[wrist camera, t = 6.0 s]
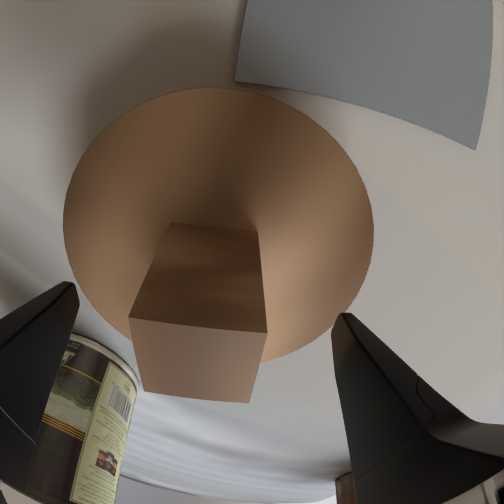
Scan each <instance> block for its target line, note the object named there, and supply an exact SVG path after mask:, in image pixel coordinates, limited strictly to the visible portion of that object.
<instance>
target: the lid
mask: <svg viewBox="0 0 504 504" xmlns="http://www.w3.org/2000/svg"><path fill="white" fill-rule="evenodd" d="M63 233H64V242H65V248H66V252H67V256H68V260H69V263H70V266H71V269H72V271H73V274H74V276H75V278H76V280H77V282H78V284H79V286H80V288H81V290H82V291H83V293H84V295H85V296H86V297H87V299H88V300H89V302H90V303H91V304H92V306H93V307H94V308H95V309H96V310H97V312H98V313H99V314H100V315H101V316H102V317H103V318H104V319H105V320H106V321H107V322H108V323H109V324H110V325H111V326H113V327H114V328H115V329H116V330H117V331H119V332H120V333H121V334H123V335H124V336H126V337H127V338H128V339H130V340H131V341H132V342H133V346H134V351H135V356H136V360H137V365H138V369H139V373H140V377H141V381H142V385H143V389H144V391H147V392H152V393H158V394H165V395H171V396H178V397H186V398H194V399H203V400H213V401H225V402H240V403H249V400H250V397H251V393H252V390H253V386H254V383H255V379H256V375H257V372H258V368H259V364H260V363H261V362H265V361H269V360H272V359H275V358H278V357H281V356H284V355H287V354H289V353H291V352H293V351H296V350H298V349H300V348H301V347H303V346H305V345H307V344H308V343H310V342H312V341H313V340H315V339H316V338H318V337H319V336H320V335H322V334H323V333H324V332H326V331H327V330H328V329H329V328H330V327H331V326H332V325H333V324H334V323H335V321H336V319H337V317H338V315H339V313H342V312H343V313H345V311H346V310H347V309H348V308H349V306H350V305H351V303H352V302H353V300H354V299H355V297H356V296H357V294H358V292H359V290H360V288H361V286H362V284H363V282H364V280H365V277H366V274H367V271H368V268H369V265H370V261H371V255H372V249H373V236H374V224H373V217H372V209H371V204H370V201H369V198H368V194H367V191H366V188H365V185H364V183H363V181H362V179H361V177H360V175H359V173H358V170H357V168H356V166H355V165H354V164H353V162H352V161H351V159H350V158H349V156H348V155H347V153H346V152H345V151H344V149H343V148H342V147H341V146H340V145H339V143H338V142H337V141H336V140H335V139H334V138H333V137H332V136H331V135H330V134H329V133H328V132H327V131H326V130H325V129H324V128H322V127H321V126H320V125H318V124H317V123H316V122H314V121H313V120H312V119H310V118H309V117H308V116H306V115H305V114H303V113H301V112H300V111H298V110H296V109H294V108H292V107H290V106H288V105H286V104H285V103H283V102H280V101H277V100H275V99H272V98H269V97H266V96H263V95H260V94H257V93H252V92H247V91H242V90H236V89H229V88H198V89H190V90H183V91H177V92H173V93H170V94H166V95H163V96H160V97H157V98H153V99H151V100H149V101H147V102H145V103H143V104H140V105H138V106H136V107H134V108H132V109H130V110H129V111H127V112H126V113H125V114H123V115H122V116H120V117H119V118H117V119H116V120H115V121H113V122H112V123H111V124H110V125H109V126H107V127H106V128H105V129H104V130H103V131H102V132H101V133H100V134H99V135H98V136H97V137H96V138H95V139H94V141H93V142H92V143H91V145H90V146H89V147H88V149H87V150H86V151H85V153H84V154H83V156H82V157H81V159H80V161H79V163H78V165H77V167H76V169H75V171H74V173H73V175H72V178H71V181H70V184H69V187H68V190H67V194H66V199H65V205H64V212H63Z"/></svg>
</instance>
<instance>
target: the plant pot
mask: <svg viewBox="0 0 504 504" xmlns="http://www.w3.org/2000/svg"><path fill="white" fill-rule="evenodd" d="M354 481H355V480H354V479H353V473H352V472H351V473H349V474H347V475H345V476H342V477H340V479H339V480H336V482H335V486H336V498H337V504H357V502H356V495H355V487H354Z"/></svg>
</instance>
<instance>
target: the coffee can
mask: <svg viewBox="0 0 504 504" xmlns="http://www.w3.org/2000/svg"><path fill="white" fill-rule="evenodd" d="M138 391H139V382H138V380H137V378H136V376H135V374H134V372H133V371H132V370H131V368H130V367H129V366H128V365H127V364H126V363H125V362H124V361H123V360H122V359H120V358H119V357H118V356H117V355H116V354H114V353H113V352H111V351H109V350H108V349H107V348H105V347H104V346H102V345H100V344H98V343H96V342H94V341H92V340H90V339H88V338H85V337H83V336H80V335H76V334H73V333H71V336H70V339H69V343H68V345H67V348H66V351H65V353H64V356H63V359H62V361H61V364H60V367H59V369H58V372H57V375H56V378H55V381H54V384H53V386H52V389H51V393H50V396H49V399H48V402H47V405H46V408H45V412H44V415H43V419H42V422H41V426H40V430H39V433H38V437H37V441H36V443H35V444H36V446H35V450H34V455H33V459H32V464H31V469H30V474H29V480H28V486H27V491H26V494H24V493H23V492H21V491H19V490H17V489H15V488H14V487H12V486H10V485H8V484H7V483H5V482H3V481H2V482H3V483H4V484H6V485H8V486H9V487H11V488H13V489H15V490H16V491H18V492H20V493H22V494H24V495H26V496H28V497H30V498H31V499H33V500H35V501H37V502H40V503H41V504H114V503H115V497H116V492H117V486H118V480H119V474H120V469H121V463H122V457H123V452H124V448H125V443H126V439H127V434H128V429H129V425H130V421H131V416H132V412H133V407H134V403H135V399H136V395H137V393H138Z"/></svg>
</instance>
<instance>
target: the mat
mask: <svg viewBox="0 0 504 504" xmlns="http://www.w3.org/2000/svg"><path fill="white" fill-rule="evenodd" d="M492 36H493V6H492V0H247V5H246V11H245V16H244V22H243V28H242V33H241V39H240V45H239V52H238V58H237V64H236V71H235V77H234V81H237V82H245V83H253V84H260V85H267V86H273V87H279V88H285V89H291V90H296V91H301V92H306V93H311V94H315V95H320V96H324V97H328V98H332V99H336V100H340V101H344V102H348V103H352V104H355V105H359V106H362V107H366V108H369V109H372V110H375V111H379V112H382V113H385V114H388V115H391V116H394V117H397V118H400V119H402V120H405V121H408V122H411V123H413V124H416V125H419V126H421V127H424V128H426V129H429V130H431V131H434V132H436V133H438V134H441V135H443V136H445V137H448V138H450V139H452V140H454V141H457V142H459V143H461V144H463V145H465V146H467V147H469V148H471V149H474V150H476V147H477V143H478V138H479V134H480V130H481V125H482V120H483V115H484V109H485V104H486V98H487V91H488V84H489V76H490V67H491V55H492Z"/></svg>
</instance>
